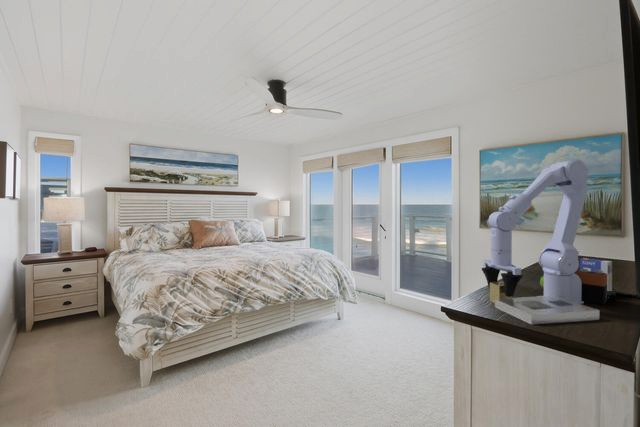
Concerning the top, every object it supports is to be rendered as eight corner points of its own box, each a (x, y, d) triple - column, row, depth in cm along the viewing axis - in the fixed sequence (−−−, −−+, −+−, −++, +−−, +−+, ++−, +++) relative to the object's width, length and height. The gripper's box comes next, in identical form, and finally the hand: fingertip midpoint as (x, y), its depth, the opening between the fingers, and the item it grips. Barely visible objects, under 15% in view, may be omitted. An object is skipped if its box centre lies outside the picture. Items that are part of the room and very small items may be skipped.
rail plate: (554, 303, 99) (554, 295, 99) (599, 319, 85) (599, 309, 85) (494, 307, 97) (494, 298, 96) (531, 324, 83) (531, 314, 83)
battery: (604, 305, 97) (604, 272, 96) (576, 300, 102) (576, 269, 102) (607, 302, 100) (607, 270, 99) (579, 297, 105) (579, 267, 105)
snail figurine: (552, 287, 117) (553, 255, 117) (561, 292, 111) (562, 258, 110) (536, 287, 118) (536, 254, 118) (543, 291, 112) (544, 257, 112)
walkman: (579, 292, 110) (579, 257, 110) (583, 291, 112) (583, 257, 111) (608, 298, 104) (608, 261, 103) (612, 296, 105) (612, 260, 104)
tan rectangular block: (502, 300, 104) (502, 281, 103) (512, 304, 99) (512, 284, 99) (489, 300, 103) (489, 281, 103) (499, 305, 99) (499, 285, 98)
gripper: (475, 247, 107) (474, 287, 108) (505, 253, 93) (505, 300, 93) (494, 246, 108) (494, 286, 109) (527, 253, 94) (527, 299, 94)
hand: (500, 292), depth 101 cm, fingers open, 7 cm apart
